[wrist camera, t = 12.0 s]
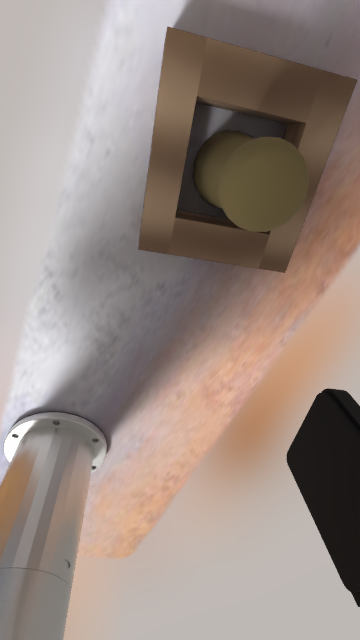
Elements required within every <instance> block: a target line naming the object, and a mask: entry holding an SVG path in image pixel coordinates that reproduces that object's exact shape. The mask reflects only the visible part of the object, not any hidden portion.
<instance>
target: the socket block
mask: <svg viewBox="0 0 360 640" xmlns="http://www.w3.org/2000/svg"><path fill="white" fill-rule="evenodd" d="M356 82H357V80H356V79H352V78H349V77H345V76H341V75H338V74H334V73H331V72H327V71H324V70H320V69H317V68H313V67H310V66H306V65H302V64H299V63H295V62H292V61H288V60H285V59H281V58H278V57H274V56H271V55H267V54H263V53H260V52H256V51H253V50H249V49H246V48H242V47H239V46H235V45H232V44H228V43H224V42H221V41H217V40H214V39H210V38H207V37H203V36H200V35H196V34H193V33H189V32H185V31H182V30H178V29H175V28H171V27H167V32H166V38H165V44H164V52H163V60H162V67H161V75H160V83H159V91H158V98H157V106H156V114H155V122H154V129H153V137H152V145H151V153H150V160H149V168H148V176H147V183H146V191H145V199H144V207H143V214H142V222H141V230H140V238H139V250H145V251H151V252H158V253H164V254H170V255H177V256H183V257H189V258H196V259H202V260H208V261H215V262H221V263H227V264H234V265H240V266H246V267H253V268H259V269H265V270H271V271H278V272H284V273H285V271H286V269H287V266H288V263H289V261H290V258H291V255H292V253H293V250H294V247H295V245H296V242H297V239H298V237H299V234H300V231H301V229H302V226H303V223H304V221H305V218H306V215H307V213H308V210H309V207H310V205H311V202H312V199H313V197H314V194H315V191H316V189H317V186H318V183H319V181H320V178H321V175H322V173H323V170H324V167H325V165H326V162H327V159H328V157H329V154H330V151H331V149H332V146H333V143H334V141H335V138H336V135H337V133H338V130H339V127H340V125H341V122H342V119H343V117H344V114H345V112H346V109H347V106H348V104H349V101H350V98H351V96H352V93H353V90H354V88H355V85H356ZM196 102H198V103H202V104H206V105H210V106H214V107H218V108H222V109H226V110H231V111H235V112H239V113H243V114H247V115H251V116H255V117H259V118H263V119H267V120H271V121H275V122H280V123H284V124H288V125H287V129H286V132H285V135H284V140H286V141H288V142H290V143H292V144H293V145H294V146H295V147H296V149H297V150H298V151H299V152H300V153H301V154H302V155H303V157H304V159H305V162H306V164H307V167H308V173H309V186H308V190H307V194H306V198H305V200H304V202H303V204H302V206H301V207H300V209H299V211H298V212H297V213H296V214H295V215H294V216H293V217H292V219H291V220H290V221H288V222H287V223H285V224H284V225H282V226H281V227H279V228H277V229H273V230H270V231H267V232H252V231H248V230H245V229H242V228H240V227H238V226H237V225H236V224H234V223H233V222H232V221H231V220H230V219H225V218H220V217H214V216H209V215H203V214H198V213H192V212H187V211H181V210H177V204H178V199H179V193H180V188H181V182H182V176H183V171H184V165H185V160H186V154H187V149H188V143H189V137H190V132H191V126H192V121H193V115H194V109H195V104H196Z"/></svg>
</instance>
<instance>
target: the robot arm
mask: <svg viewBox="0 0 360 640" xmlns="http://www.w3.org/2000/svg"><path fill="white" fill-rule="evenodd" d="M106 451H107V443H106V439H105V437H104V435H103V433H102V432H101V431H100V430H99V429H98V428H97V427H96V426H95V425H94V424H92V423H91V422H89V421H87V420H85V419H83V418H81V417H78V416H76V415H72V414H67V413H59V412H45V413H39V414H34V415H31V416H28V417H26V418H24V419H22V420H20V421H19V422H17V423H16V424H15V425H14V426H13V427H12V428H11V430H10V431H9V433H8V435H7V437H6V439H5V443H4V452H5V455H6V457H7V459H8V460H9V462H10V464H9V466H8V469H7V471H6V473H5V476H4V478H3V480H2V483H1V485H0V640H63V637H64V630H65V624H66V617H67V612H68V605H69V599H70V593H71V588H72V582H73V576H74V570H75V564H76V558H77V552H78V546H79V540H80V535H81V529H82V523H83V517H84V511H85V505H86V499H87V493H88V487H89V481H90V475H91V474H92V473H93V472H95V471H96V470H98V468H99V467H100V466H101V465H102V464H103V462H104V460H105V457H106ZM287 463H288V465H289V468H290V470H291V472H292V474H293V476H294V479H295V481H296V483H297V485H298V487H299V489H300V492H301V494H302V496H303V498H304V500H305V502H306V504H307V507H308V509H309V511H310V513H311V515H312V517H313V519H314V522H315V524H316V526H317V528H318V530H319V532H320V534H321V537H322V539H323V541H324V543H325V545H326V548H327V549H328V552H329V554H330V556H331V558H332V560H333V563H334V565H335V567H336V569H337V571H338V573H339V575H340V578H341V580H342V582H343V584H344V586H345V587H346V588H347V589H348V590H349V591H350V592H351V593H352V595H353V597H354V599H355V601H356V603H357V605H358V607H360V406H359V405H358V404H357V402H356V401H355V400H354V399H353V398H352V397H351V395H350V394H349V393H348V392H347V391H344V390H336V389H325V390H323V391H322V393H319V394H318V395H317V396H316V398H315V400H314V402H313V404H312V406H311V408H310V410H309V412H308V414H307V416H306V417H305V420H304V421H303V423H302V425H301V427H300V429H299V431H298V433H297V435H296V437H295V439H294V441H293V442H292V444H291V446H290V448H289V450H288V453H287Z"/></svg>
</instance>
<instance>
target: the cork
mask: <svg viewBox="0 0 360 640" xmlns="http://www.w3.org/2000/svg"><path fill="white" fill-rule="evenodd" d="M193 179H194V183H195V187H196V189H197V191H198V193H199V194H200V196H201V198H203V199H204V200H205V201H206V202H207V203H208V204H210V205H212V206H215V207H217V208H220V209H223V210H224V212H225V214H226V215H227V217H228V218H229V219H230V220H231V221H232V222H233V223H234V224H236V225H237V226H238V227H240V228H242V229H245V230H248V231H252V232H267V231H270V230H273V229H277V228H279V227H281V226H282V225H284V224H285V223H287V222H288V221H290V220H291V219H292V217H293V216H294V215H295V214H296V213H297V212H298V211H299V209H300V207H301V206H302V204H303V202H304V200H305V198H306V194H307V190H308V186H309V173H308V167H307V164H306V162H305V159H304V157H303V155H302V154H301V153H300V152H299V151H298V150H297V149H296V147H295V146H294V145H293V144H292V143H290V142H288V141H286V140H284V139H281V138H279V137H259V138H256V139H253V138H252V137H250V136H249V135H247V134H244V133H242V132H240V131H233V130H226V131H223V132H220V133H217V134H215V135H213V136H212V137H211V138H209V139H208V140H207V141H205V143H204V144H203V145H202V147H201V148H200V150H199V151H198V153H197V156H196V159H195V162H194V167H193Z"/></svg>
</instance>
